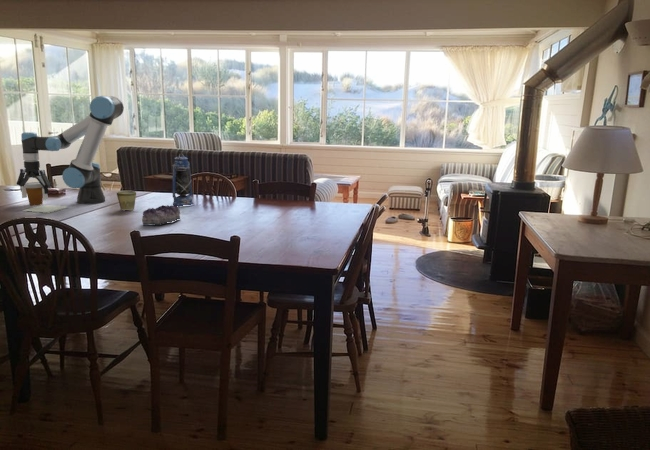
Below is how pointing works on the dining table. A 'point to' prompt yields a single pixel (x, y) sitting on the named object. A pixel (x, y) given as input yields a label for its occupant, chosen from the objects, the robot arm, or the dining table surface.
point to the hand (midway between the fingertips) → (35, 198)
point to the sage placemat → (46, 208)
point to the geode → (161, 215)
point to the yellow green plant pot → (126, 199)
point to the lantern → (182, 182)
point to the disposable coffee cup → (34, 193)
